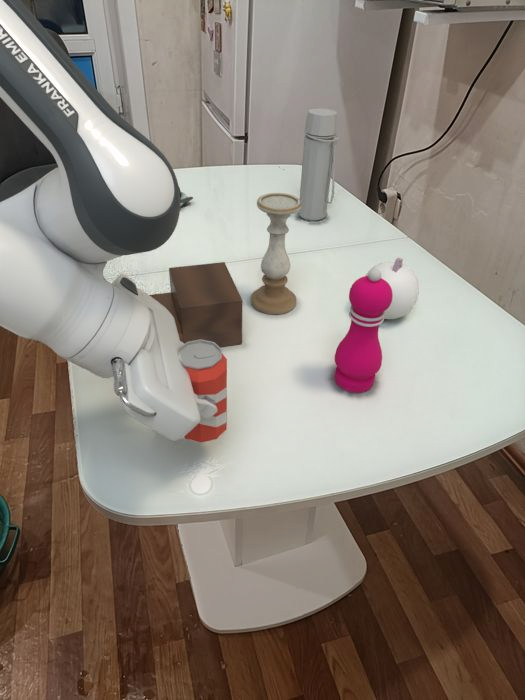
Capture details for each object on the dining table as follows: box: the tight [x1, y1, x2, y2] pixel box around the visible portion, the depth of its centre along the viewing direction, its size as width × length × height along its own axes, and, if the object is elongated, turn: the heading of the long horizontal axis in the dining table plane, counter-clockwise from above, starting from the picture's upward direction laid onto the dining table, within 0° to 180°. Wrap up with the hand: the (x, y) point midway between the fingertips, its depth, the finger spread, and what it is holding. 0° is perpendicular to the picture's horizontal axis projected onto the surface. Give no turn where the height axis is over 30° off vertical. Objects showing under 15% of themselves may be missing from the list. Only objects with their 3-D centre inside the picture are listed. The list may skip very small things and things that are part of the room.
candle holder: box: [250, 192, 302, 315], centre depth 92 cm, size 9×9×20 cm
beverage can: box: [177, 339, 228, 443], centre depth 61 cm, size 6×6×12 cm
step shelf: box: [149, 261, 244, 348], centre depth 87 cm, size 18×13×9 cm
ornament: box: [365, 257, 420, 320], centre depth 93 cm, size 10×10×12 cm
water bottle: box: [297, 107, 340, 222], centre depth 122 cm, size 9×8×25 cm
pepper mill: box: [334, 269, 393, 394], centre depth 75 cm, size 7×7×20 cm
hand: (206, 388), depth 61 cm, fingers closed on beverage can, 6 cm apart
